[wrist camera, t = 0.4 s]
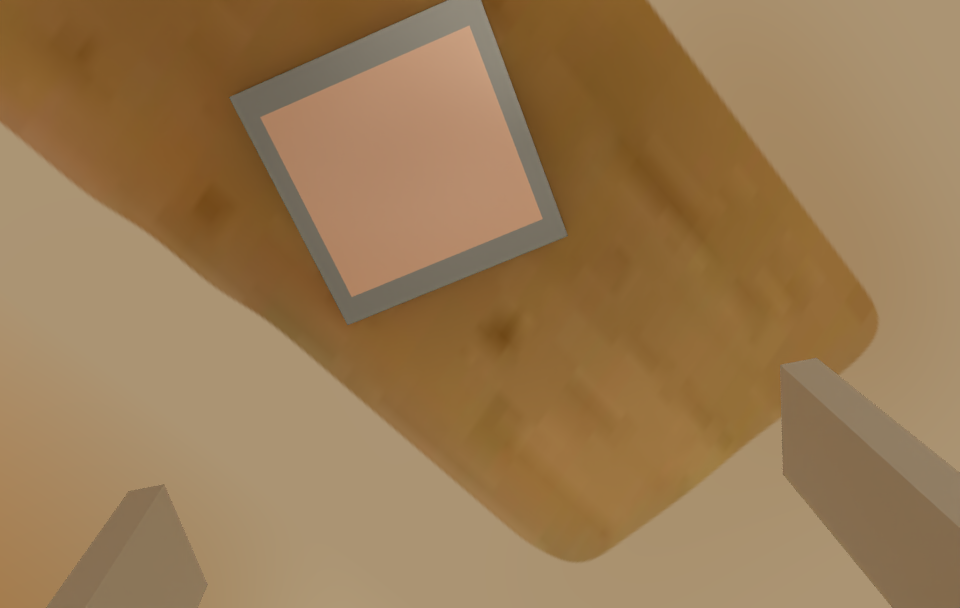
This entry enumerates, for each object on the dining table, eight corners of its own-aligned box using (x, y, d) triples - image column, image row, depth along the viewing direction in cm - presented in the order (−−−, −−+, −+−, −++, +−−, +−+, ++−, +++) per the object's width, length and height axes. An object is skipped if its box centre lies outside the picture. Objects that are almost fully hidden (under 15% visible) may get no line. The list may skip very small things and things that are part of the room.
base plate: (234, 96, 36) (228, 97, 35) (475, -11, 34) (476, -13, 33) (349, 319, 40) (347, 325, 39) (565, 231, 39) (567, 235, 38)
